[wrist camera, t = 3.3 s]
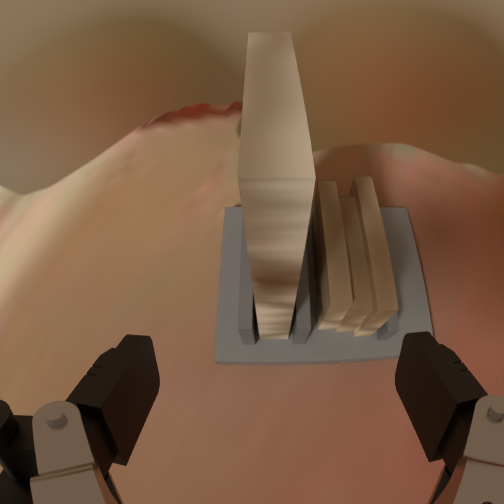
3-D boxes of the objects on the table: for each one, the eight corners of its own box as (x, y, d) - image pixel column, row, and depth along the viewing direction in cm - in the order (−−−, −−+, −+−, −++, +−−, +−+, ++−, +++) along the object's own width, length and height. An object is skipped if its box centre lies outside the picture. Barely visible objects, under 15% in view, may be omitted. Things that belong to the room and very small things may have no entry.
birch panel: (284, 221, 33) (289, 31, 16) (287, 339, 27) (315, 177, 10) (261, 222, 33) (248, 32, 16) (259, 339, 27) (237, 178, 10)
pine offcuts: (355, 221, 33) (371, 176, 27) (371, 335, 27) (398, 309, 21) (310, 221, 33) (317, 175, 27) (318, 338, 27) (332, 312, 21)
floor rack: (402, 215, 35) (420, 178, 29) (428, 354, 27) (461, 335, 21) (226, 215, 36) (218, 175, 30) (217, 363, 28) (203, 348, 22)
